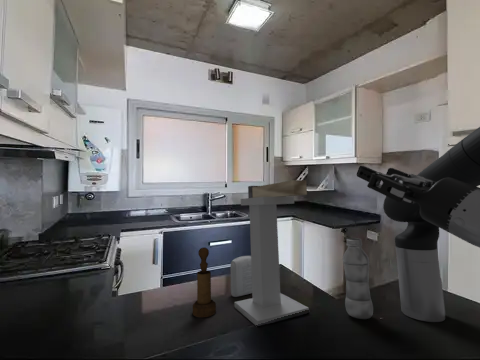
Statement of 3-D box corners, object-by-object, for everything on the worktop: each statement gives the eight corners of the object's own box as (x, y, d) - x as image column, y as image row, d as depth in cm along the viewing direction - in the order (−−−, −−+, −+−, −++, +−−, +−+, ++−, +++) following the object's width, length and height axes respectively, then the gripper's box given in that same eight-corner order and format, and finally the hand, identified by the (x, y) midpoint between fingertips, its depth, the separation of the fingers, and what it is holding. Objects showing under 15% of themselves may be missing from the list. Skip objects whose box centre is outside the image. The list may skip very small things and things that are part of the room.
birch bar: (260, 198, 81) (259, 186, 81) (307, 194, 60) (306, 178, 61) (248, 198, 79) (248, 186, 79) (293, 194, 58) (292, 178, 59)
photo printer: (253, 288, 89) (252, 253, 90) (260, 291, 86) (259, 255, 87) (229, 295, 83) (228, 257, 85) (235, 298, 80) (234, 259, 81)
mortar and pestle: (205, 319, 65) (204, 250, 67) (187, 314, 69) (187, 248, 71) (220, 310, 71) (219, 246, 73) (203, 306, 74) (202, 245, 76)
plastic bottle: (351, 309, 69) (346, 236, 71) (377, 316, 64) (371, 238, 66) (341, 317, 65) (336, 239, 67) (369, 325, 60) (362, 241, 62)
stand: (279, 297, 80) (275, 198, 83) (309, 313, 67) (302, 196, 71) (234, 307, 73) (231, 199, 76) (258, 327, 60) (253, 196, 64)
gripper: (506, 189, 37) (403, 155, 50) (457, 188, 31) (355, 150, 44) (479, 231, 40) (389, 188, 53) (429, 239, 33) (341, 188, 47)
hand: (373, 171), depth 49 cm, fingers open, 8 cm apart
